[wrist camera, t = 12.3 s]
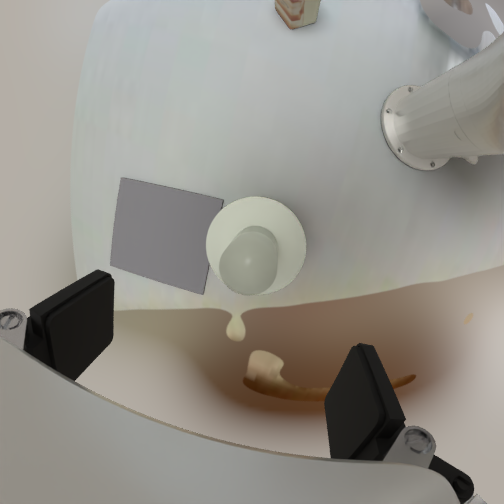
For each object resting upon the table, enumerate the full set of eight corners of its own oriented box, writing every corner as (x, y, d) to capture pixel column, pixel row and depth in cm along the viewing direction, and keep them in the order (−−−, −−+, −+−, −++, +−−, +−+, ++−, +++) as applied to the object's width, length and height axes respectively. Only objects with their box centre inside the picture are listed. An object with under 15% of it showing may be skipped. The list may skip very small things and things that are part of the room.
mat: (223, 199, 37) (223, 200, 37) (203, 293, 41) (202, 294, 41) (122, 177, 38) (121, 177, 38) (111, 264, 42) (110, 265, 41)
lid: (316, 210, 25) (329, 220, 18) (290, 300, 27) (293, 338, 20) (219, 186, 25) (197, 189, 18) (201, 278, 28) (177, 308, 21)
